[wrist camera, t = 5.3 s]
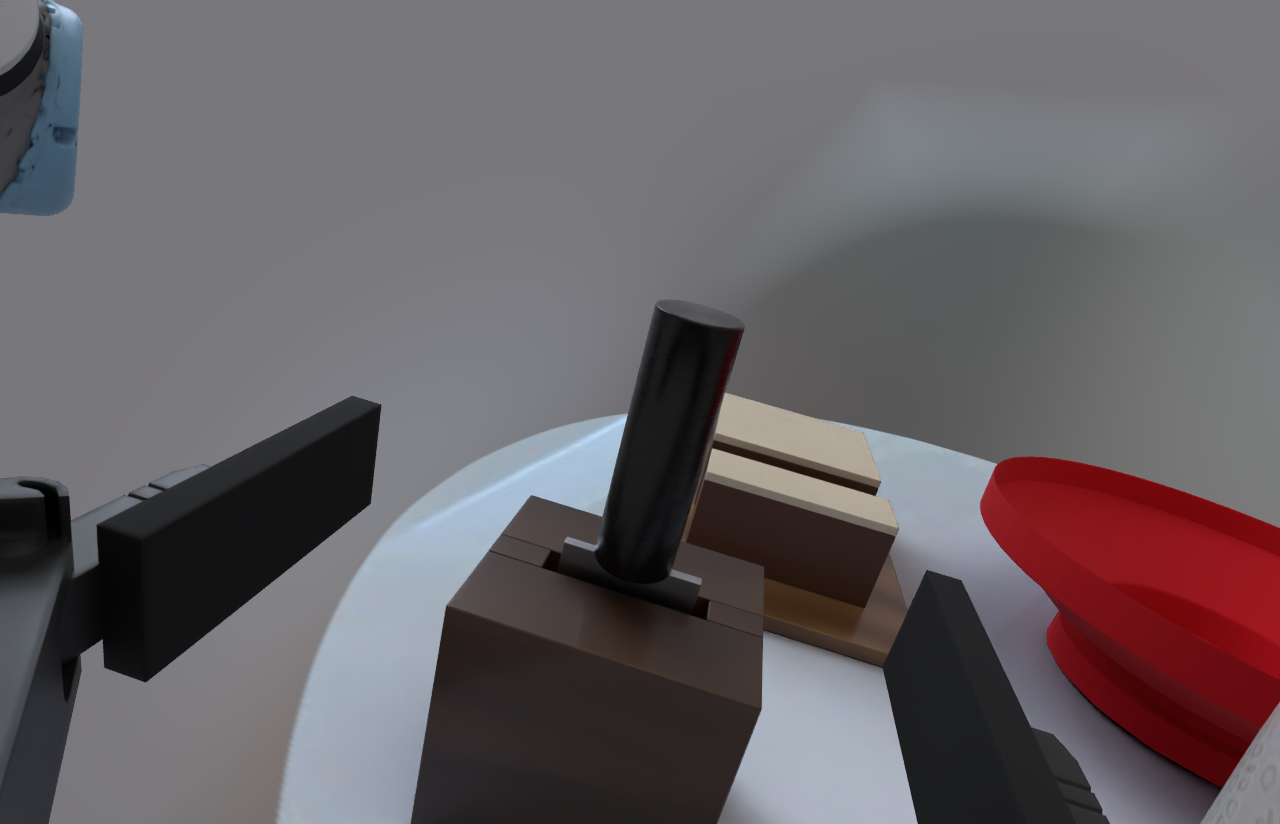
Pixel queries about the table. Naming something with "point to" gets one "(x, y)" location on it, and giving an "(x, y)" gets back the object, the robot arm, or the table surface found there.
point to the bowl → (1150, 602)
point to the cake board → (835, 615)
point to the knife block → (588, 689)
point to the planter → (1253, 782)
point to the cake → (794, 444)
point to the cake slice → (793, 527)
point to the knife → (661, 457)
